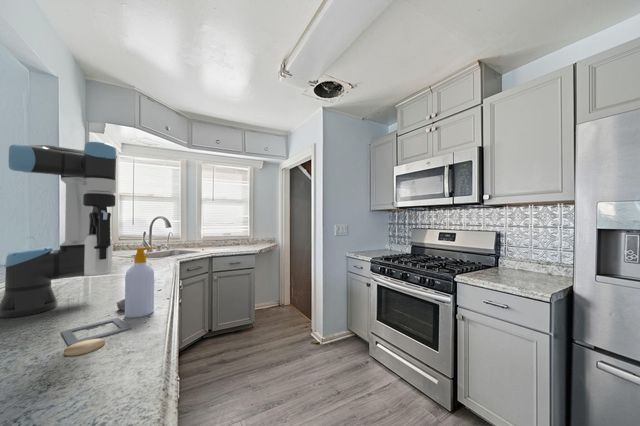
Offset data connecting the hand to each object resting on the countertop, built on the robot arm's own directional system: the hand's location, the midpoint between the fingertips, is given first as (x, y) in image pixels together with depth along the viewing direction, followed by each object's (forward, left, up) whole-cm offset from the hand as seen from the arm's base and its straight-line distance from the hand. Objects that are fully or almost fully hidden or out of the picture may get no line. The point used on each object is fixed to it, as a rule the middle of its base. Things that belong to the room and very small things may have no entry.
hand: (98, 268), depth 79 cm
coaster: (+11, -5, -19) cm, 22 cm away
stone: (-17, +14, -19) cm, 29 cm away
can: (0, 0, -2) cm, 2 cm away
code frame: (-1, 0, -19) cm, 19 cm away
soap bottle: (-7, +13, -19) cm, 25 cm away
